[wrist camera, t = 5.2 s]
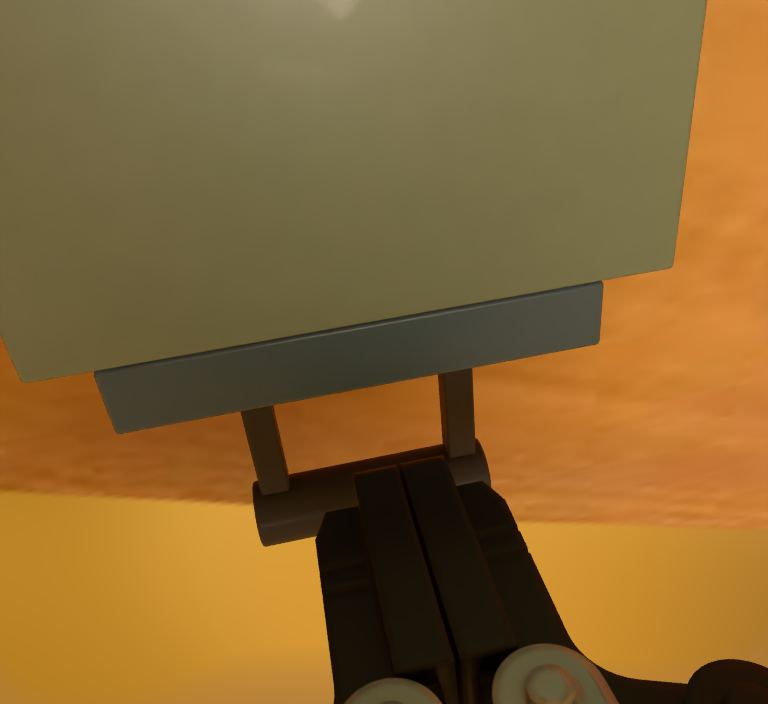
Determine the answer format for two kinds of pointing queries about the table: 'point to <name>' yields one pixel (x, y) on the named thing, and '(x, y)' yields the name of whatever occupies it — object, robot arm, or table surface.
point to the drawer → (345, 373)
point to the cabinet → (324, 163)
